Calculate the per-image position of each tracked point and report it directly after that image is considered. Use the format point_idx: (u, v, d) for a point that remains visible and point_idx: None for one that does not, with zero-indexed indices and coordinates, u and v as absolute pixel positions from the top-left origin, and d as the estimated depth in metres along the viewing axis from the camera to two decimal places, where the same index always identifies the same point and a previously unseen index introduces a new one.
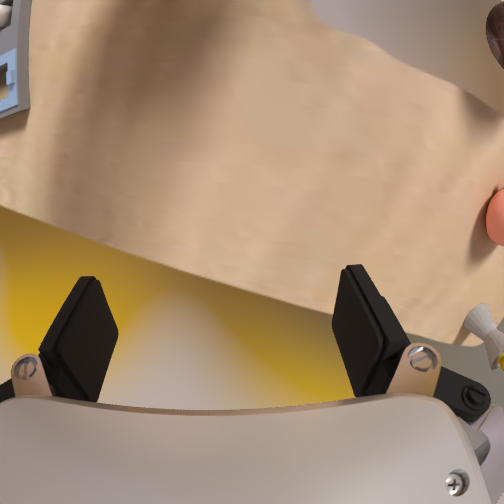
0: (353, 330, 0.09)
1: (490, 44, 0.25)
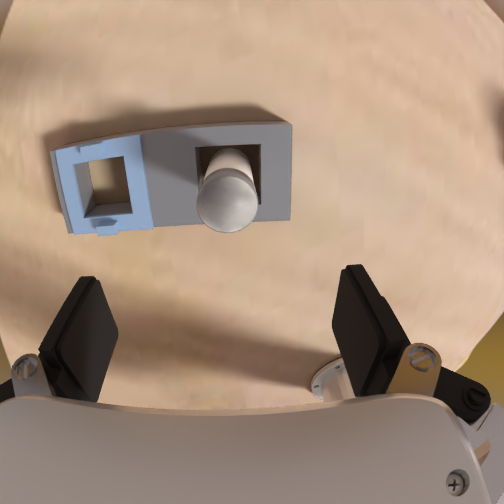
0: (353, 330, 0.09)
1: None
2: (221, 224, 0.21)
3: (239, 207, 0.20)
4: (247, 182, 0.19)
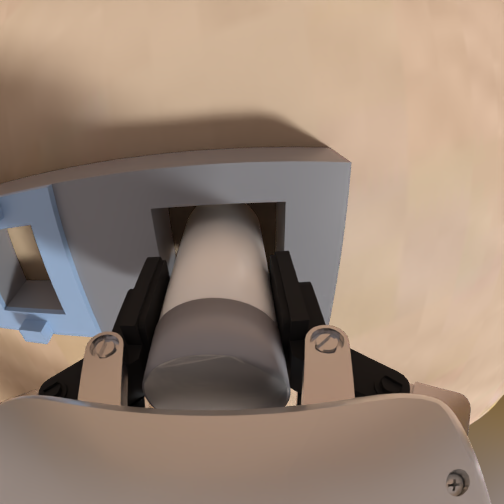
0: (275, 312, 0.10)
1: None
2: None
3: (245, 401, 0.08)
4: (266, 361, 0.07)
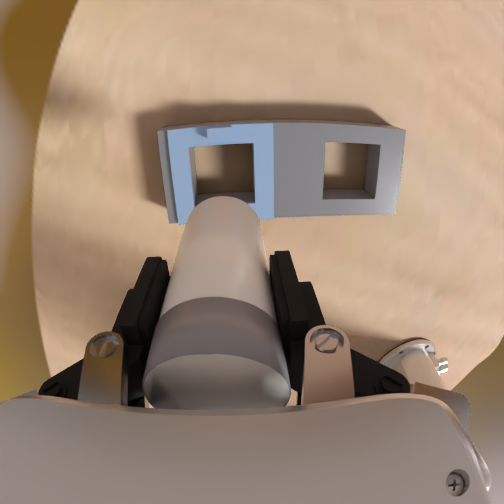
0: None
1: None
2: None
3: (246, 401, 0.08)
4: (267, 360, 0.07)
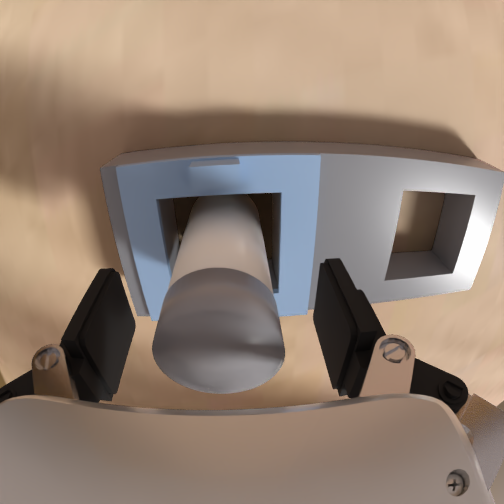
0: (330, 322, 0.10)
1: None
2: (208, 383, 0.10)
3: (244, 361, 0.09)
4: (263, 319, 0.08)
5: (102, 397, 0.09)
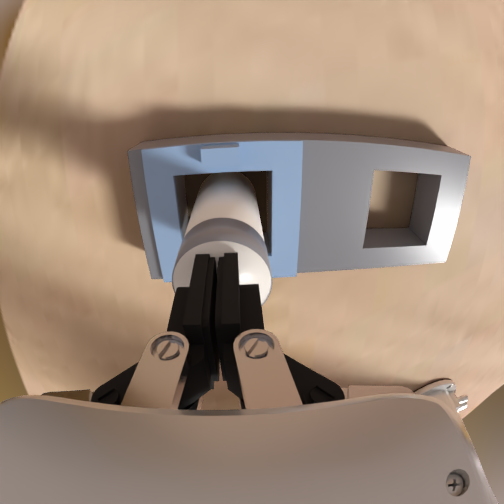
0: None
1: None
2: None
3: None
4: (255, 249, 0.12)
5: None
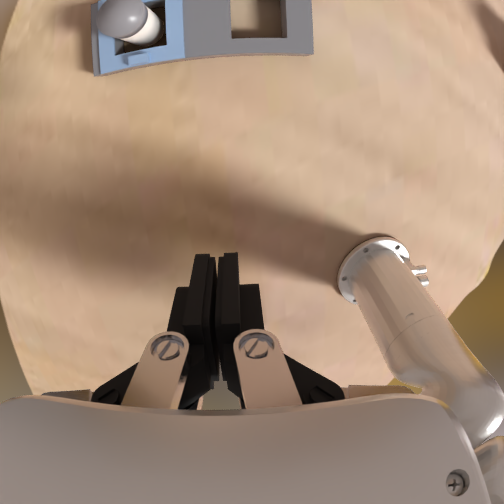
0: None
1: None
2: (113, 29, 0.17)
3: (127, 13, 0.16)
4: None
5: None
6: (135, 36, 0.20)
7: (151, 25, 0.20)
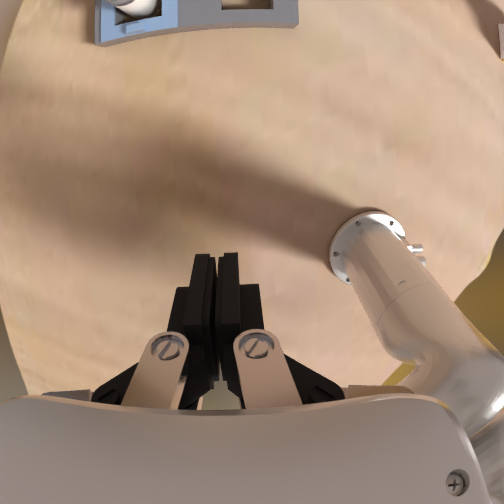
0: None
1: None
2: None
3: None
4: None
5: None
6: (132, 5, 0.20)
7: None
